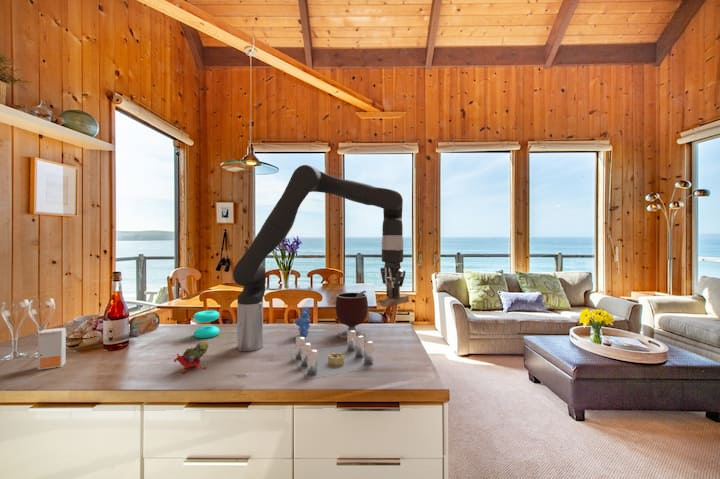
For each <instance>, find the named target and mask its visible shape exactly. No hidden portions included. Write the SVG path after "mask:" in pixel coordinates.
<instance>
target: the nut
mask: <svg viewBox="0 0 720 479" xmlns="http://www.w3.org/2000/svg"><path fill="white" fill-rule="evenodd" d="M344 362H345V354H342V353H332V354H329V356H328V365H331V366H334V367H336V366H342V365H344Z"/></svg>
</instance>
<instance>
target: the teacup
mask: <svg viewBox="0 0 720 479" xmlns="http://www.w3.org/2000/svg"><path fill="white" fill-rule="evenodd" d="M97 315H98V314H87V315H80V316H76V317H74V318H73V319H72V320H69V321H65V322H64V324H63V326H62V328H66V333H67V332H68V333H71V332H70V331H73V330H75V329H77V328H78V326H79V325H80V324H82V323H83V322H85V321H86V320H89V319H91V318H93V317H95V316H97ZM69 324H71V325H72V327H73V328H72V329H69V328H67V326H68V325H69Z"/></svg>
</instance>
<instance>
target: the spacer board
mask: <svg viewBox="0 0 720 479" xmlns="http://www.w3.org/2000/svg"><path fill="white" fill-rule="evenodd" d="M316 349H317V374H316V375H312V376H311V375H308V374H307V367H302V366H301V360H297V359H296V352H291V353H288V354H289V356H290V357H291V359H292V361H293V362H294V363H295V365H297V367H298V369H299V370H300V371H301V373H303V375H304V377H305V378H306V380H307V381H312V380H317V379H321V378H328V377H332V376H338V375H343V374H344V375H345V374H347V373H349V374H350V373H353V372H359V371H364V370H365V371H366V370H369V369H370V370H371V369H375V368H381V367H382V366H381V365H380V364H379V363H377V362H376V361H374V360H373V364H372V365H365V364H364V357H362V358H357V357H355V351H348V350H347V344H345V345H338V346H337V345H336V346H331V347H325V348H316ZM332 353H342V354H345V362H344V365H342V366H336V367H334V366H331V365H328V356H329V354H332Z"/></svg>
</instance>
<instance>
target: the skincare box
mask: <svg viewBox="0 0 720 479" xmlns="http://www.w3.org/2000/svg"><path fill="white" fill-rule="evenodd" d="M66 335H67V331H66V328H63V327H57V328H49V329H48V328H47V329H42V330H41V331H39V332H38V333H37V370H38V371H40V370H48V369H56V367H57V368H63V366H64V365H65V364H66V356H67V355H66V350H67V349H66V346H67V345H66V338H67V336H66Z"/></svg>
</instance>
